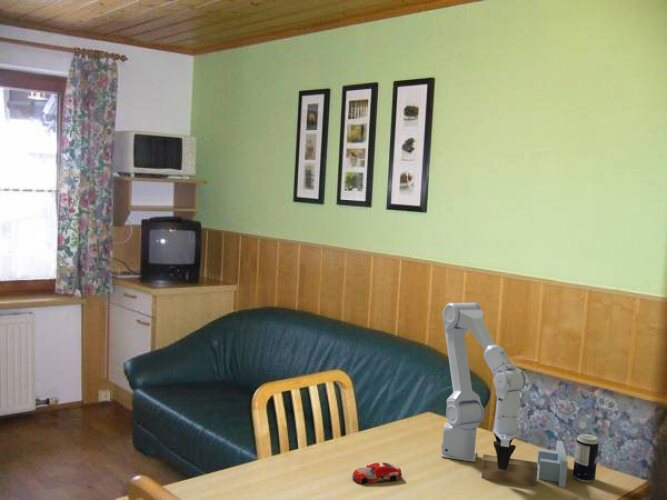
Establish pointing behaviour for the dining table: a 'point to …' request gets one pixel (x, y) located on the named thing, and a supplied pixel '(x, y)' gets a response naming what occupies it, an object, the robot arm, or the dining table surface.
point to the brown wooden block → (510, 471)
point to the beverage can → (585, 457)
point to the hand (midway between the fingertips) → (502, 463)
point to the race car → (377, 473)
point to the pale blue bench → (553, 464)
